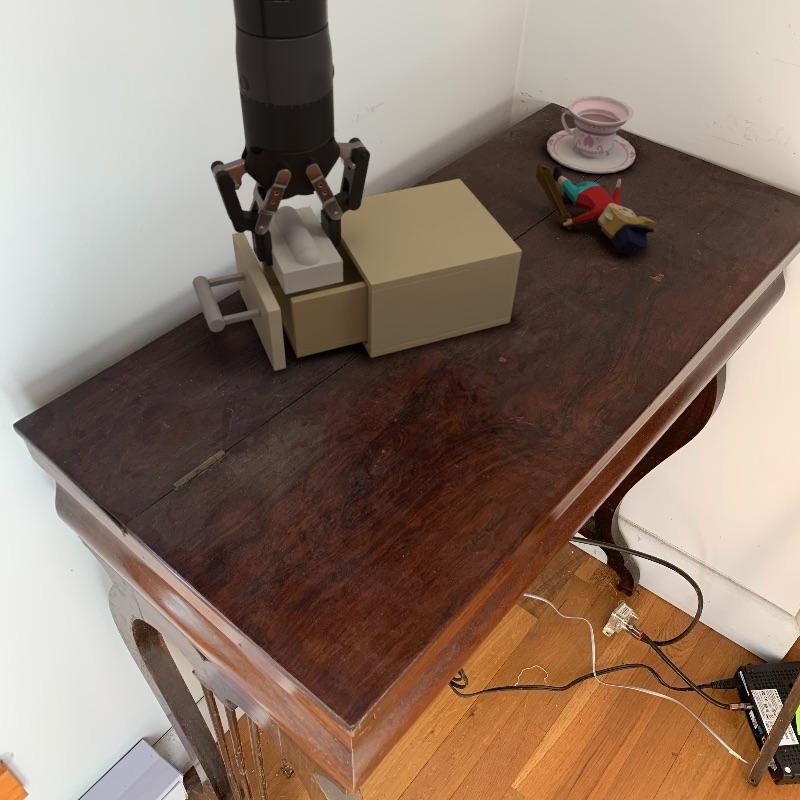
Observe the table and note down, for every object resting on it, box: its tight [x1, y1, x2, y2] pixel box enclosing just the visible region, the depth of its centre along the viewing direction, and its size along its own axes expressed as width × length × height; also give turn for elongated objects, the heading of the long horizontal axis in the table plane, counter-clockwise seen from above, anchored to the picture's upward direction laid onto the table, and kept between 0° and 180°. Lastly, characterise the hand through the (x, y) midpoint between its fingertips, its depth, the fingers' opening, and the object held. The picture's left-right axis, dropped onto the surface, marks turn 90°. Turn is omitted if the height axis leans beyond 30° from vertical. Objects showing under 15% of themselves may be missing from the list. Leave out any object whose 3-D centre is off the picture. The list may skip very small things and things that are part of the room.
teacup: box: [546, 95, 637, 175], centre depth 107 cm, size 12×12×6 cm
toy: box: [535, 161, 658, 256], centre depth 94 cm, size 9×6×15 cm
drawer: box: [192, 221, 369, 372], centre depth 79 cm, size 20×13×7 cm, turn 112°
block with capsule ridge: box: [268, 205, 343, 294], centre depth 75 cm, size 10×6×4 cm, turn 22°
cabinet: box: [321, 178, 523, 359], centre depth 83 cm, size 16×14×9 cm
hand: (298, 254), depth 76 cm, fingers closed on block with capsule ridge, 5 cm apart
